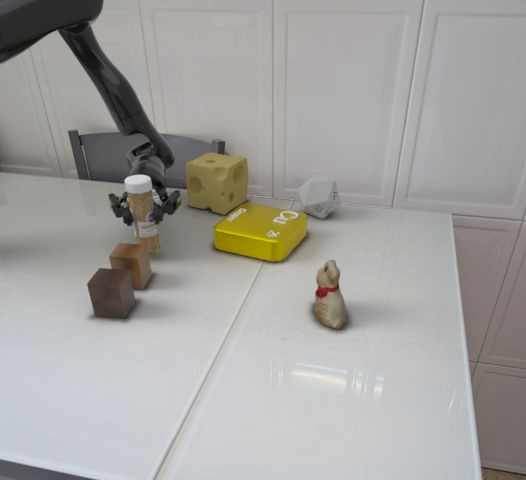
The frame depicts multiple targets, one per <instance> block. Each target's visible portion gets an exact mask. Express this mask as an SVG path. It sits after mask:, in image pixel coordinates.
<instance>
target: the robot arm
mask: <svg viewBox="0 0 526 480" xmlns="http://www.w3.org/2000/svg"><path fill="white" fill-rule="evenodd" d="M104 2H105V0H0V65H3V64H5V63H7V62H9V61H11V60H13V59H15V58H17V57H18V56H19V55H21V54H23V53H24V52H26V51H28V50H29V49H30V48H32V47H33V46H35V45H36V44H38V43H39V42H40V41H42V39H45V38H46V37H47V36H49V35H51V34H52V33H55V32H57V33H58V34H59V36H60V37H61V38H62V40H63V41H64V43H65V44H66V45H67V47H68V48H69V50H70V51H71V52H72V54H73V56H74V57H75V59H76V60H77V61H78V62H79V64H80V66H81V67H82V69H83V70H84V72H85V73H86V75H87V76H88V77H89V80H90V81H91V82H92V84H93V86H94V87H95V89H96V91H97V92H98V94H99V95H100V97H101V100H102V101H103V103H104V105H105V107H106V109H107V111H108V112H109V115H110V117H111V118H112V121H113V122H114V124H115V126H116V128H117V130H118V132H119V133H120V134H121V136H123V137H130V136H134V135H135V136H136V135H143V136H144V137H146V138H147V139H148V140H147V141H144V142H143V143H140V144H138V145H136V146H134V147H132V148H131V149H129V151H128V152H127V154H126V162H127V165H128V167H129V169H130V172H129V175H128V177H129V176H133V175H146V176H149V177H150V178H151V182H152V196H153V202H154V219H155V225H157V226H158V225H160V223H162V222H163V221H164V216H165V214H167V215H168V216H172V215H174V214H175V213H176V211H178V209H179V207H180V206H181V205H182V197H181V191H180V190H178V189H176V190H174V191H172V192H170V193H168V191H167V187H168V185H167V177H166V171H167V170H168V169H170V168H172V167H173V165H175V152H174V150H173V148H172V147H171V145H170V144H169V142H168V141H167V140H166V139H165V138H164V136H162V134H161V133H160V132H159V131H158V129H157V128H156V127H155V125H154V124H153V123H152V121H151V119H150V118H149V117H148V114H147V112H146V111H145V109H144V107H143V104H142V103H141V101H140V99H139V96H138V95H137V92H136V91H135V89H134V87H133V85H132V84H131V82H130V81H129V79H128V78H127V77H126V76H125V75H124V74H123V73H122V72H121V71H120V69H118V67H117V66H116V65H115V64H114V63H113V62H112V61H111V59H109V57H108V56H107V54H106V53H105V52H104V50H103V48H102V46H100V43H99V41H98V39H97V37H96V35H95V32H94V30H93V27H92V24H94V23H95V22H96V21H97V20H98V19H99V17H100V15H101V14H102V11H103V10H104V9H103V8H104ZM107 196H108V200H109V206H110V209H111V210H112V213H113V214H114V216H115V218H117V219H119V218H120V219H121V218H122V221H123V224H125V225H126V227H133V224H132V218H131V212H130V206H129V199H128V194H127V191H126V190H125V191H124V192H123V194H122V195H121V196H120V195H118V194H117V195H116V194H115V193H108V195H107ZM122 204H123V205H122Z"/></svg>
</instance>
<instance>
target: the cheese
mask: <svg viewBox="0 0 526 480" xmlns="http://www.w3.org/2000/svg"><path fill="white" fill-rule="evenodd" d="M248 165H249V164H248V159H247V157H245V156H237V155H236V156H235V155H227V154H221V153H217V152H211V151H209V152H207V153H205V154H203V155H201V156H199V157H197V158H195V159H193V160H190V161H188V162H186V163H184V167H185V168H184V169H185V171H184V172H185V179H186V180H185V181H186V193H187V200H188V205H189V207H193V208H197V209H201V210H209V209H210V210H211V212H213V213H215V214H220V215H223V216H224V215H227V214H228V213H230V212H231V211H232V210H234V209H236V208H237V207H239V206H240V205H242V204H244V203H246V201H247V196H248V186H249V166H248Z"/></svg>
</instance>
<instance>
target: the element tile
mask: <svg viewBox="0 0 526 480" xmlns="http://www.w3.org/2000/svg"><path fill="white" fill-rule="evenodd" d="M307 230H308V214H307V213H305V212H301V211H296V210H291V209H285V208H280V207H276V206H270V205H264V204H259V203H253V202H244V203H242V204H240V205H238V206H237V207H235V208H234V209H233V211H230V212H229V214H228V215H227V214H226V216H225V217H223V218H222V219H221V220H219V221H218V222H216V224H214V226H213V242H214V243H213V244H214V247H215V249H217V250H219V251H222V252H227V253H231V254H236V255H241V256H243V257H244V256H245V257H250V258H254V259H258V260H263V261H268V262H272V263H273V262H274V263H275V262H276V263H277V262H278V263H279V262H282V261H283V260H285V259H286V258H287V257H288V256H289V255H290V254H291V253H292V251H293V250H294V249H295V248H297V246H298V245H299V244H300V243H301V242H302V240H303V239H305V237H306V236H307V232H308V231H307Z"/></svg>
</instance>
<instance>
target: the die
mask: <svg viewBox="0 0 526 480" xmlns="http://www.w3.org/2000/svg"><path fill="white" fill-rule="evenodd" d="M297 193H298V196H299V199H300V203H301V206H302V209H303V211H304V212H303V213H305V214H306V215H310V216H312V217H315V218H318V219H321V220H324V219H325V218H326V217H327V216H328V215H329V214H330V213H332V212H333V211H334V210H335V209H336V208H337V207H338V206H340V205H341V204H342V202H341V198H340V194H339V191H338V187H337V184H336V179H334V178H331V177H328V176H324V175H321V174H319V173H315V174H313V175H312V176H311V177H310V178H309V179H308V180H307V181H306V182H304V183H303V185H301V186H300V187H299V188H297Z"/></svg>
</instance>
